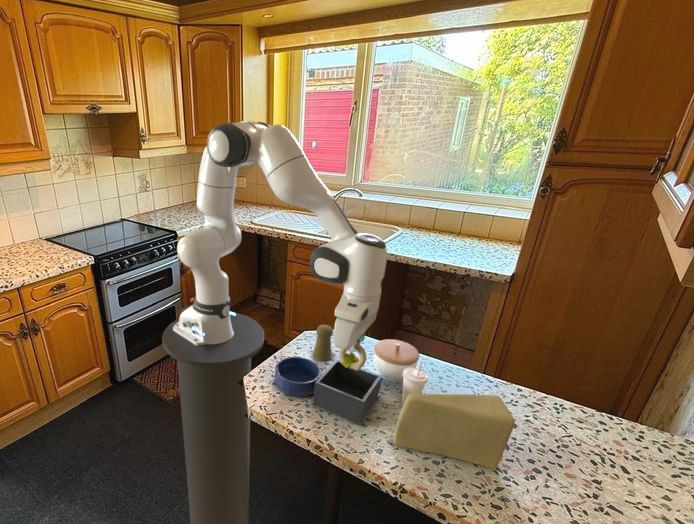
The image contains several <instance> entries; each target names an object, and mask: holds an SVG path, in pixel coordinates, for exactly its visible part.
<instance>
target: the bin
mask: <svg viewBox="0 0 694 524" xmlns="http://www.w3.org/2000/svg"><path fill="white" fill-rule="evenodd" d="M382 379H383V378H382V376H380V374H379V373H375V372H372V371H370V370H366V369H364V368H361V369H360V370H358V371H356V370H354V369H350V368H346V367H345V366H344V365H343V364H342V363H341V360H340V359H335V360H334V361H333V362H332V363H331V364H330V366H329V367H327V369H326V370H324V372H323V373H322V374H321V377H320V378H319V379H318V380H317V381H316V382H315V389H314V394H313V400H312V405H313V406H315V407H318V408H319V409H322V410H324V411H327V412H329V413H331V414H333V415H336V416H338V417H340V418H342V419H345V420H346V421H349V422H352V423H353V424H356V425H358V426H361V425H362V423H363V421H364V420H365V418H366V416H368V414H369V412H370V411H371V409H372V408H373V406H374V404H375V403H376V402H377V400H378V398H379V394H380V388H381V383H382Z"/></svg>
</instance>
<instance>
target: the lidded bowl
mask: <svg viewBox="0 0 694 524" xmlns="http://www.w3.org/2000/svg"><path fill="white" fill-rule="evenodd" d="M419 359H420V352H419V350H418V349H417V348H416V347H415V346H414V345H412V344H410V343H408V342H405V341H403V340H399V339H391V338H390V339H389V338H388V339H387V338H386V339H382V340H379V341H377V342H376V343H375V344H374V347H373V365H374V368H375V370H376V372H377V374H378V375H380V376H382V379H384V380H385V381H388V382H391V383H399V382H403V378H404V377H403V371H404V370H405V369H407V368H417V364H418V361H419Z"/></svg>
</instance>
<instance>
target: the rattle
mask: <svg viewBox="0 0 694 524" xmlns="http://www.w3.org/2000/svg"><path fill="white" fill-rule="evenodd" d="M365 338H366V335H365V333H364V334H363V335H362V336H360V337H359V339H358V340H357V341H356V342H355V345H356V350H355V351H356V352H357V353H358V355H359V357H357V356H356V355H355V354H354V352H353V353H352V352H349V353H347V350H343V349H340V348H339V352H338V355H339V361H341V363H342V364H343V365H344V366H345V367H346V368H350V369H354V370H356V371H358V370H360V369H362V368H363V367H364V365H365V364H366V361H367V352H366V350H365V348H364V347H363V346H362V345H361V344H360V342H361V343H363V342H364V341H365Z"/></svg>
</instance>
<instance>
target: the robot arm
mask: <svg viewBox="0 0 694 524" xmlns="http://www.w3.org/2000/svg"><path fill="white" fill-rule="evenodd" d="M256 164H257V165H258V166H259V167H260V169H261V171H262V172H263V174H264V176H265V179H266V181H267V183H268V185H269V187H270V189H271V190H272V192H273V194H274V195H275V196H276V197H277V199H278V200H279V201H281V202H282V203H284V204H287V205H290V206H295V207H300V208H304V209H306V210H308V211H310V212H311V213H313V214H314V215H315V217H317V219H318V220H319V222H320V224H321V226H323V228H324V229H325V231H326V233H327V235H328V236H329V237H330V240H331V241H329V242H326V243H324V244H321V245H320V246H318V247H316V248H315V249H314V250H313V251H312V252H311V255H310V258H309V259H310V260H309V265H310V270H311V272H312V274H313V276H315V277H316V278H317V279H318V280H319V281H321V282H324V283H329V284H335V285H336V284H337V285H340V284H342V285H343V291H342V294H341V298H340V300H339V302H338V304H337V305H336V307H335V310H334V314H333V315H334V316H335V317H336V319H335V322H334V328H333V329H334V330H333V344H334V346H335V347H336V348H338V349H339V350H340V349H343V350H346V352H349V353H351V352H352V353H353V354H354V352H355V351H357V350H356V345H355V342H356V341H357V340H358V339H359V337H360V336H362V335H363V334H365V332H366V331H367V330H368V329H369V328H370V327H371V325H373V323H374V322H375V321H376V319H377V315H378V312H379V308H380V304H381V299H382V297H381V296H382V293H383V292H382V282H383V279H384V278H385V274H386V268H387V259H388V251H387V250H388V249H387V244H386V242H385V241H384V240H383V239H382V238H380V237H379V236H378V235H377V236H376V235H374V234H370V233H360V232H358V231H357V230H356V229H355V228H354V226H353V225H352V223H351V221H350V220H349V218H348V217H347V216H346V214H345V212H344V211H343V209H342V208H341V206H340V204H339V202H338V201H337V199H336V198H335V197H334V195H333V194H332V192H331V191H330V190H329V188H328V187H327V186H326V185H325V184H324V182H323V181H322V180H321V179H320V177H319V176H318V175H317V173H316V171H315V170H314V168H313V166H312V165H311V163H310V162H309V160H308V158H307V156H306V154H305V152H304V151H303V148H302V147H301V145H300V144H299V142H298V140H297V139H296V137H295V136H294V135H293V134H292V132H291V131H290V129H288V128H287V127H286V126H285V125H284V124H271V125H270V124H268V123H266V122H262V121H256V122H255V121H252V120H251V121H248V120H242V121H238V122H237V121H236V122H224V123H221V124H218V125H216V126H214V127H213V128H212V129H211V130H210V131H209V133H208V136H207V139H206V146H205V148H204V149H203V153H202V156H201V160H200V163H199V170H198V180H197V189H196V190H197V192H196V207H197V209H198V211H199V212H200V213H201V214H202V215H203V218H204V225H203V227H201V228H198V229H195V230H192V231H189V232H188V233H187V234H185V235H184V236H183V237H181V238H179V240H178V242H177V246H176V252H177V257H178V258H179V260H180V262H181V263H182V264H183V265H184V266H186V267H188V268H189V269H190V270H191V273H192V275H193V278H194V286H195V295H194V297H191V298H190V301H189V302H190V303H192V302H193V304H189V305H187V306H185V307H182V308H181V313H180V315H179V318H178V319H179V322H177V323H176V324H175V325H174V327H173V331H175V332H176V333H178V334H179V335H181V336H182V337H184V338H185V339H187V340H188V341H190V342H191V343H193V344H194V345H197V346H200V345H205V344H220V343H224V342H226V341H228V340H230V339H231V338H232V337H233V335H234V332H233V329H232V325H231V319H230V314H231V315H234V316H236V313H237V312H234V311H231V297H230V295H229V294H230V292H229V290H230V289H229V287H230V285H229V283H230V282H229V281H230V280H229V276H228V274H227V273H226V272H225V271H223V270H222V269H221V266H220V259H221V258H223V257H226V256H228V255H230V254H231V253H233V252H234V251H235V250H236V249H237V248H238V247H239V246H240V245H241V243H242V231H241V228H240V227H239V226H238V225H237V224H236V222H235V218H234V203H235V194H236V186H237V176H238V171H239V169H240V168H243V167H249V166H252V165H256ZM233 312H234V313H233ZM361 343H362V342H360V345H361Z"/></svg>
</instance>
